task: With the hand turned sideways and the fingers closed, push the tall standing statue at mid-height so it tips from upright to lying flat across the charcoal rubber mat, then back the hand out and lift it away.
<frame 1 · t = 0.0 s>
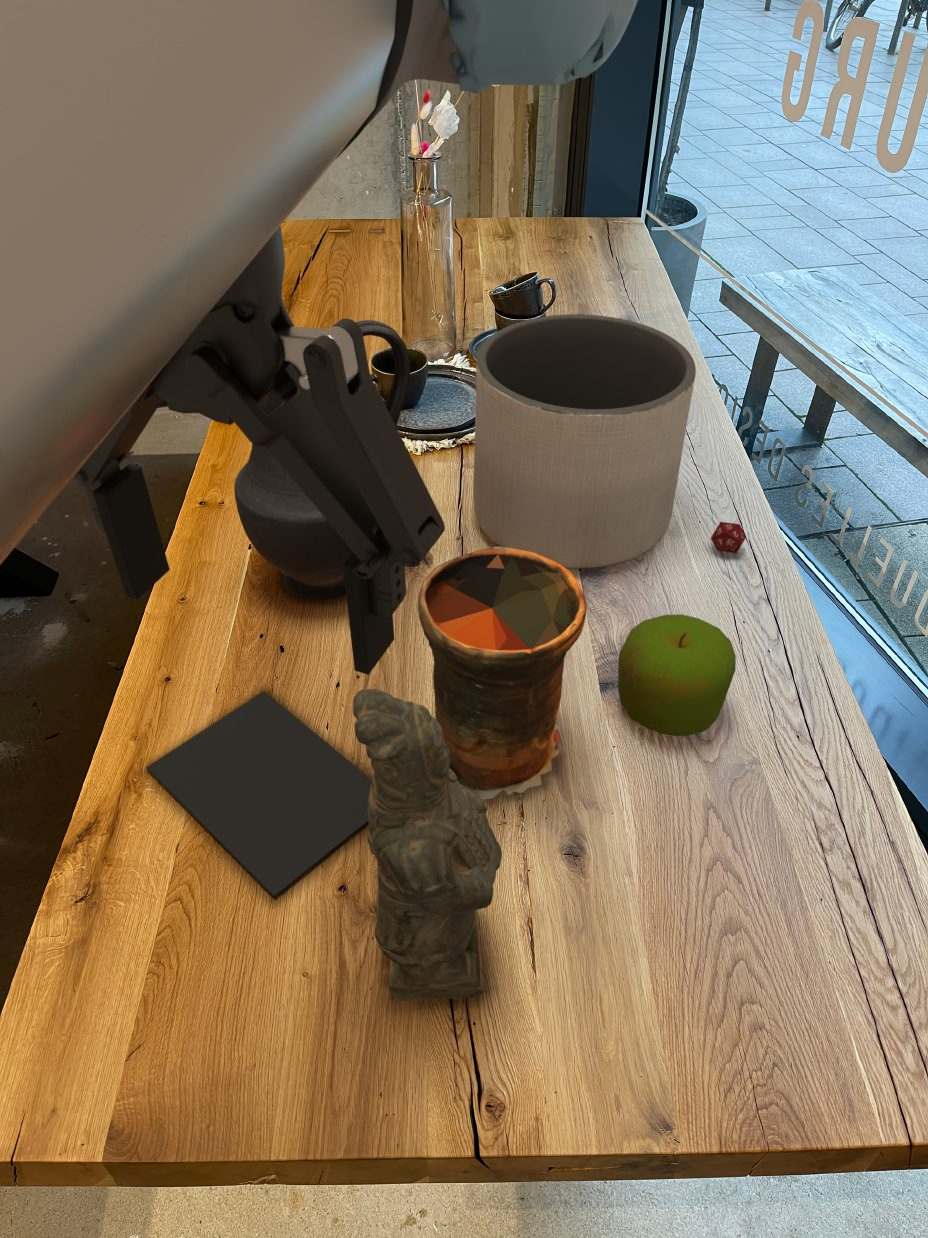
hand: (256, 617, 47), 39 cm above the table, tool pointing down, fingers open, 13 cm apart
mat: (269, 786, 87), on the table
statue: (439, 958, 74), on the table
pitcher: (339, 572, 111), on the table
planter: (570, 518, 119), on the table
dice: (725, 551, 114), on the table
apple: (666, 709, 94), on the table
vessel: (496, 750, 90), on the table
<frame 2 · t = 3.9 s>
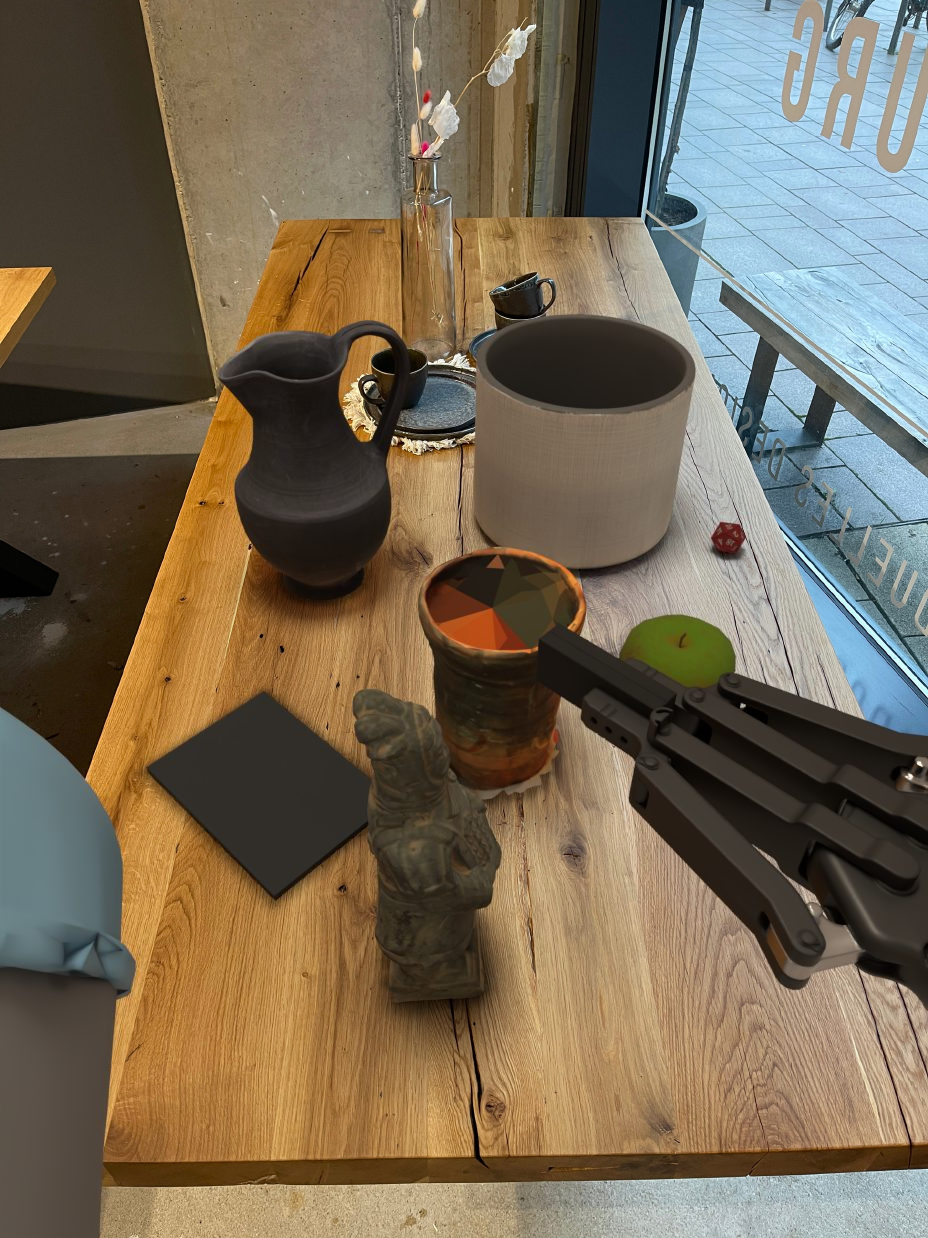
hand: (547, 652, 43), 40 cm above the table, tool horizontal, fingers closed
nothing on the table moved.
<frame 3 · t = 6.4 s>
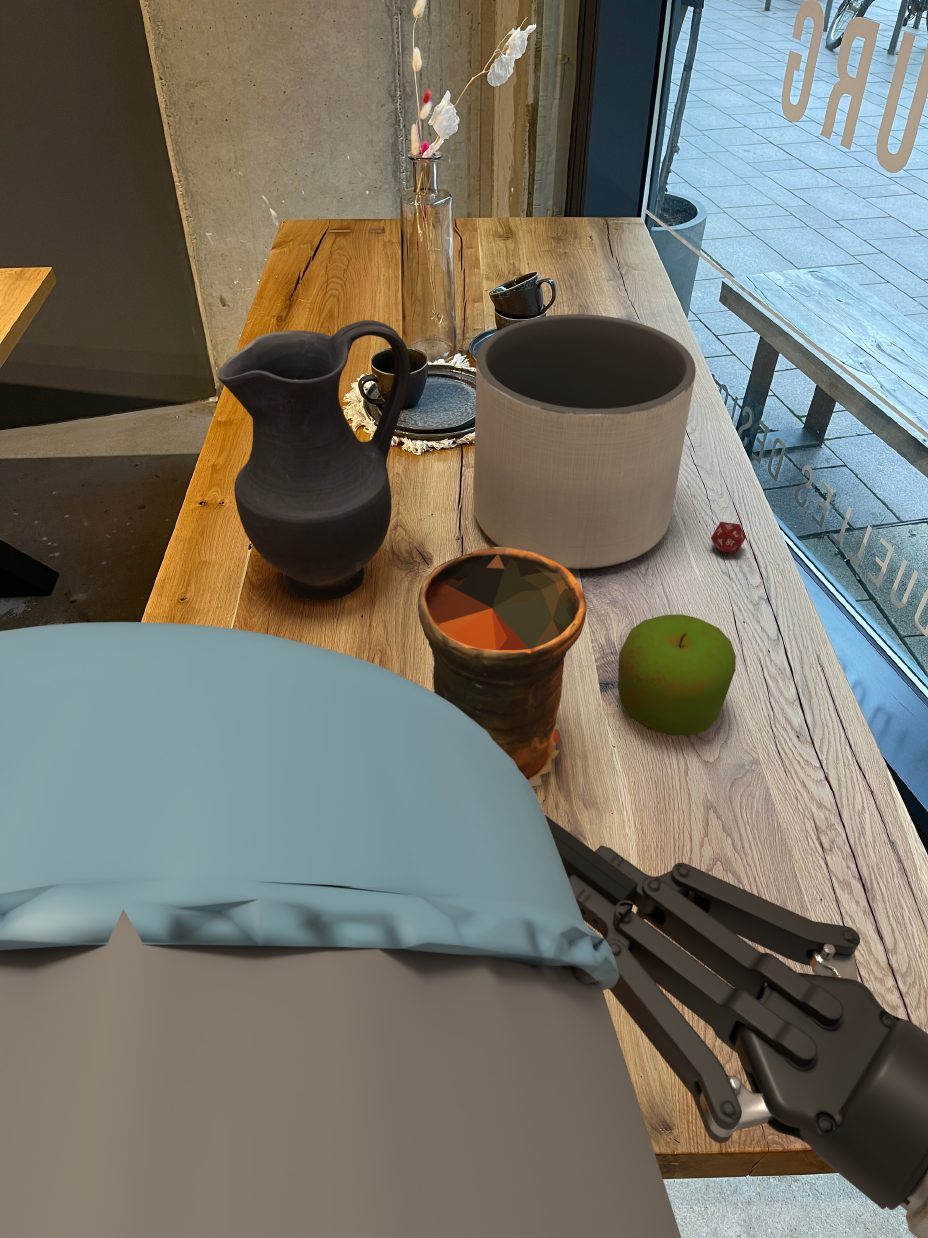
hand: (535, 836, 53), 25 cm above the table, tool horizontal, fingers closed
nothing on the table moved.
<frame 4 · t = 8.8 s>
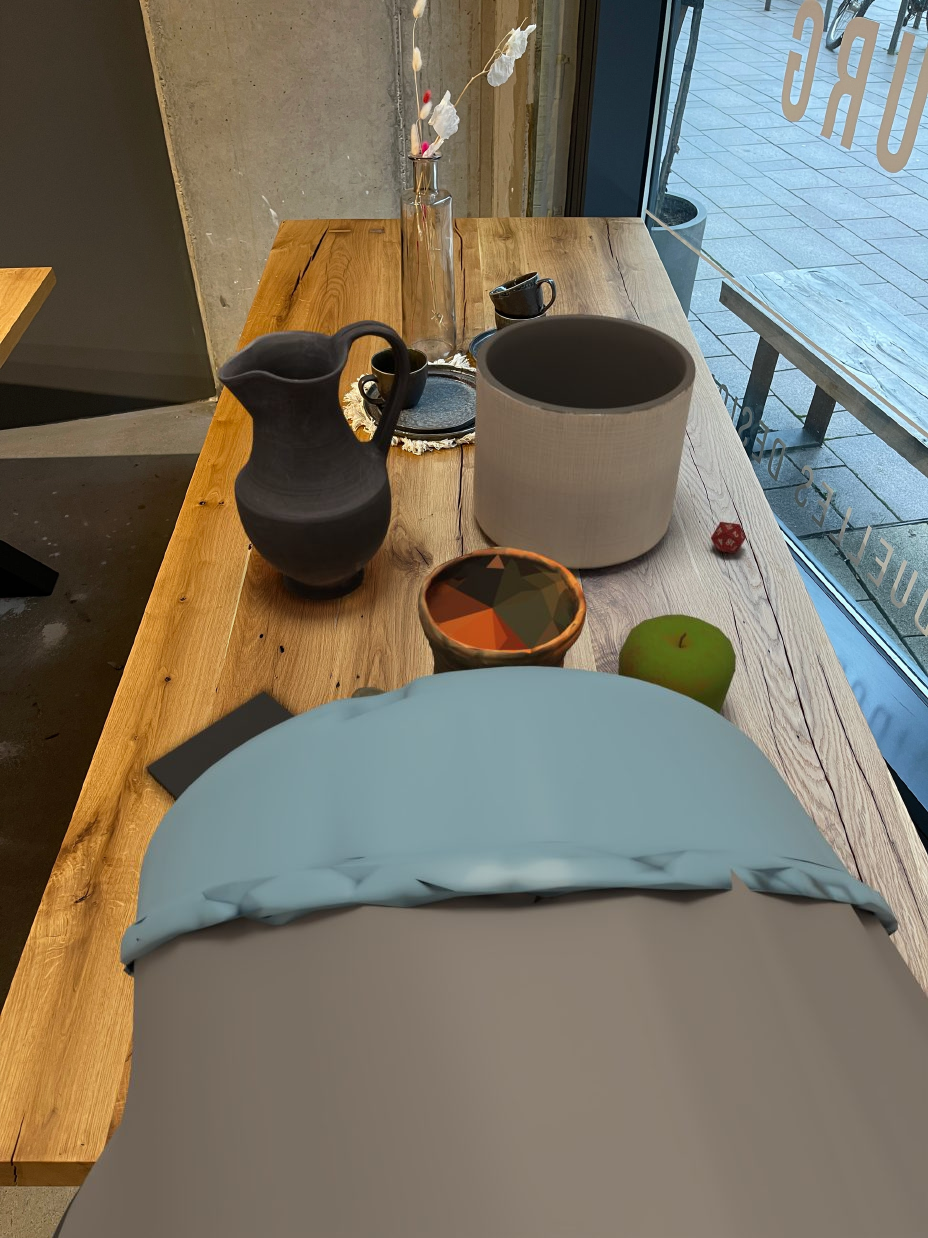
hand: (495, 896, 61), 15 cm above the table, tool horizontal, fingers closed
statue: (439, 957, 74), on the table, touching gripper
everything else where it was.
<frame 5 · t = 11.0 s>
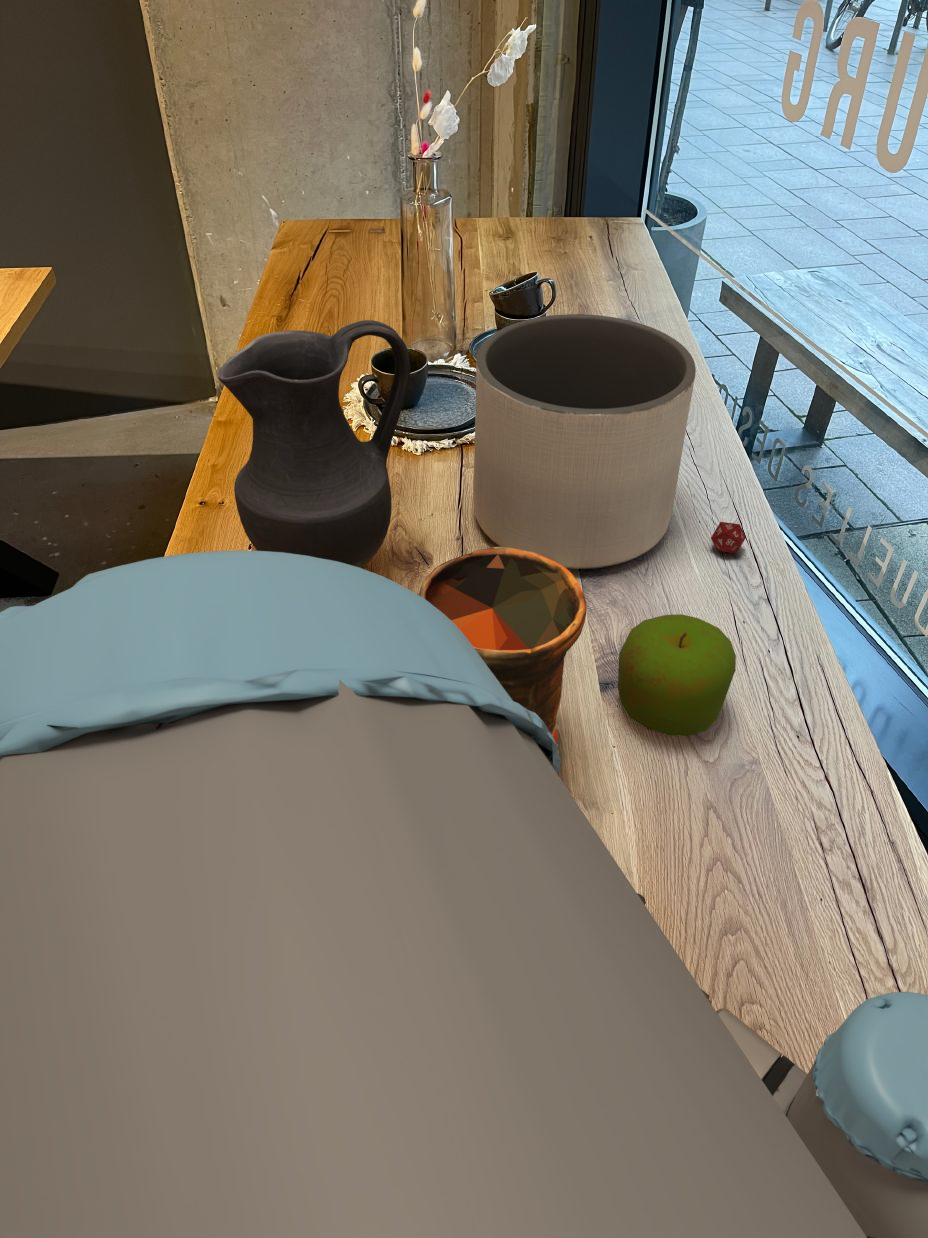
hand: (405, 822, 66), 15 cm above the table, tool horizontal, fingers closed
statue: (284, 970, 68), point 5 cm above the table
everything else where it was.
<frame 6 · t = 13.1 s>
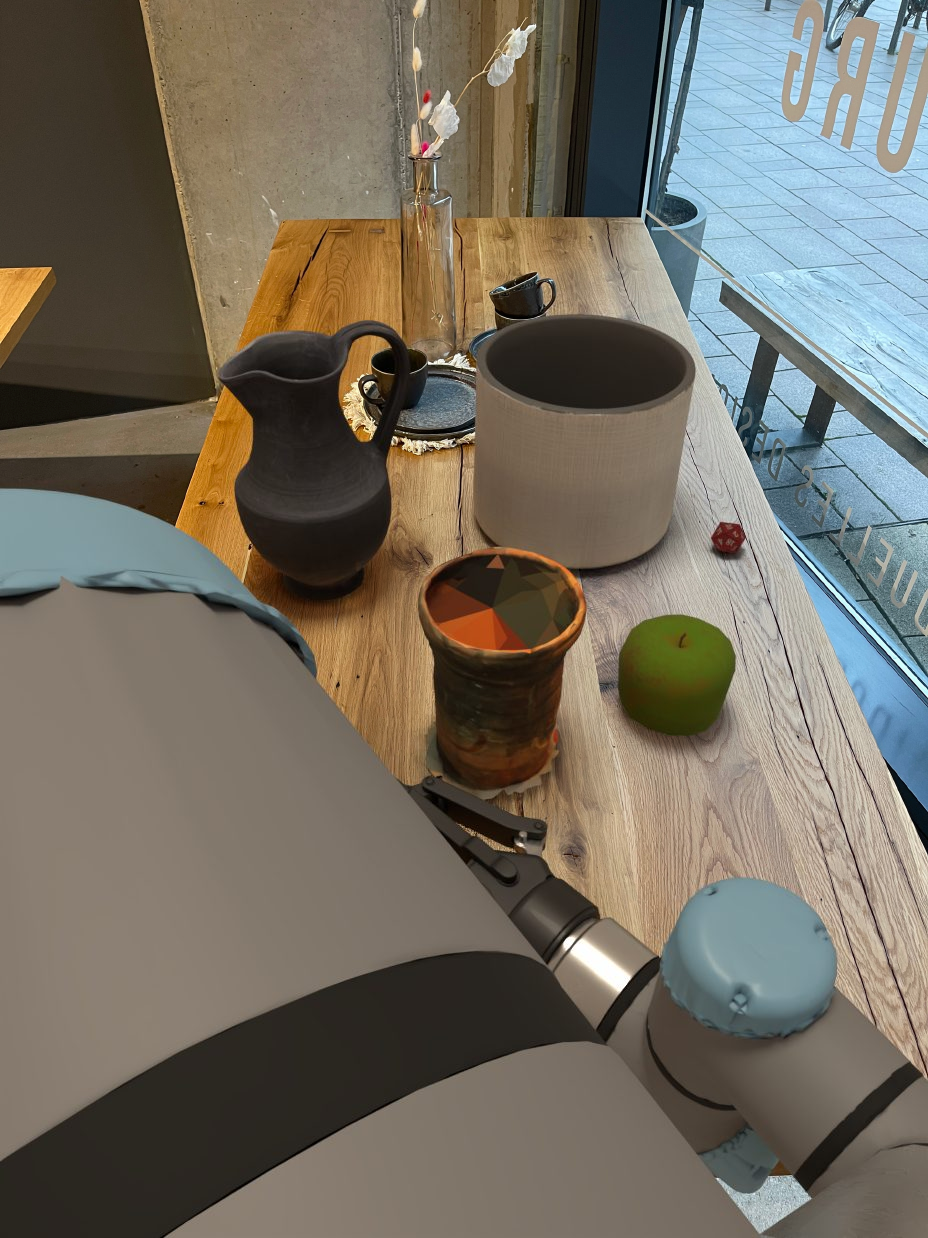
hand: (330, 758, 70), 15 cm above the table, tool horizontal, fingers closed
statue: (328, 927, 70), point 5 cm above the table, touching mat
everything else where it was.
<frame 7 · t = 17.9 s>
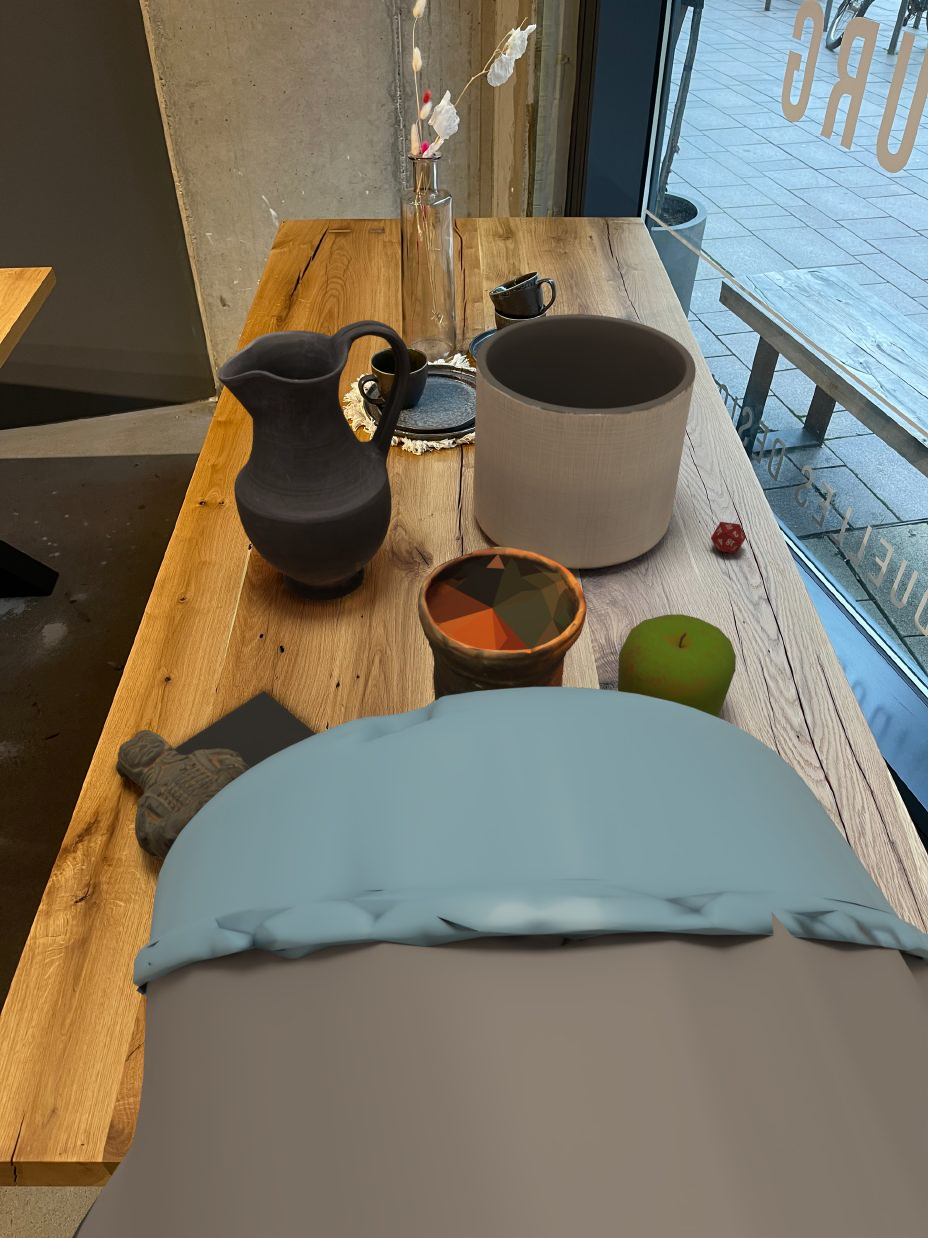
hand: (512, 907, 59), 16 cm above the table, tool horizontal, fingers closed
nothing on the table moved.
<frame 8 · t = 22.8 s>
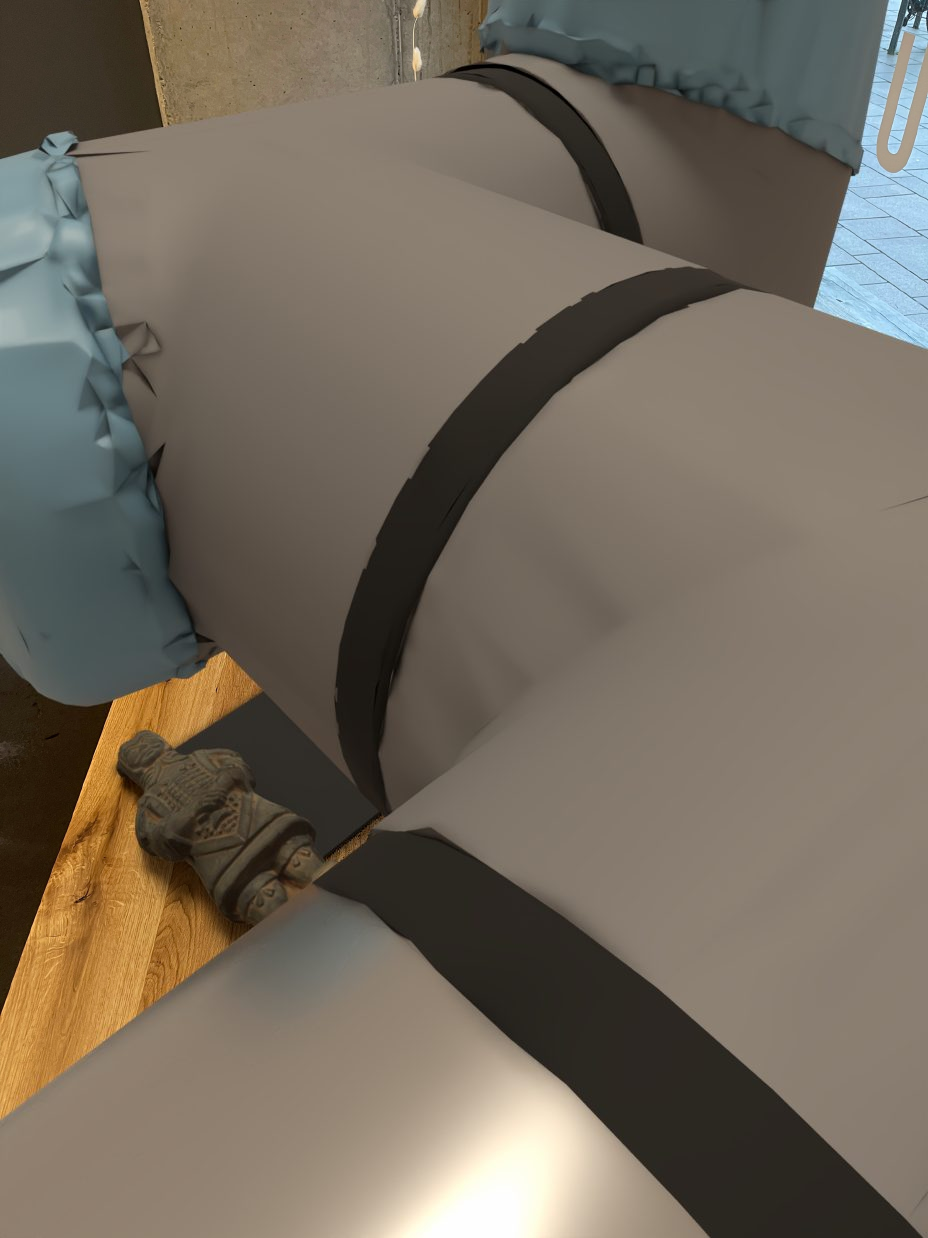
hand: (554, 964, 43), 29 cm above the table, tool pointing down, fingers closed
nothing on the table moved.
at the end: statue tilted 91°; statue touching mat, table; the gripper is holding nothing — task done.
